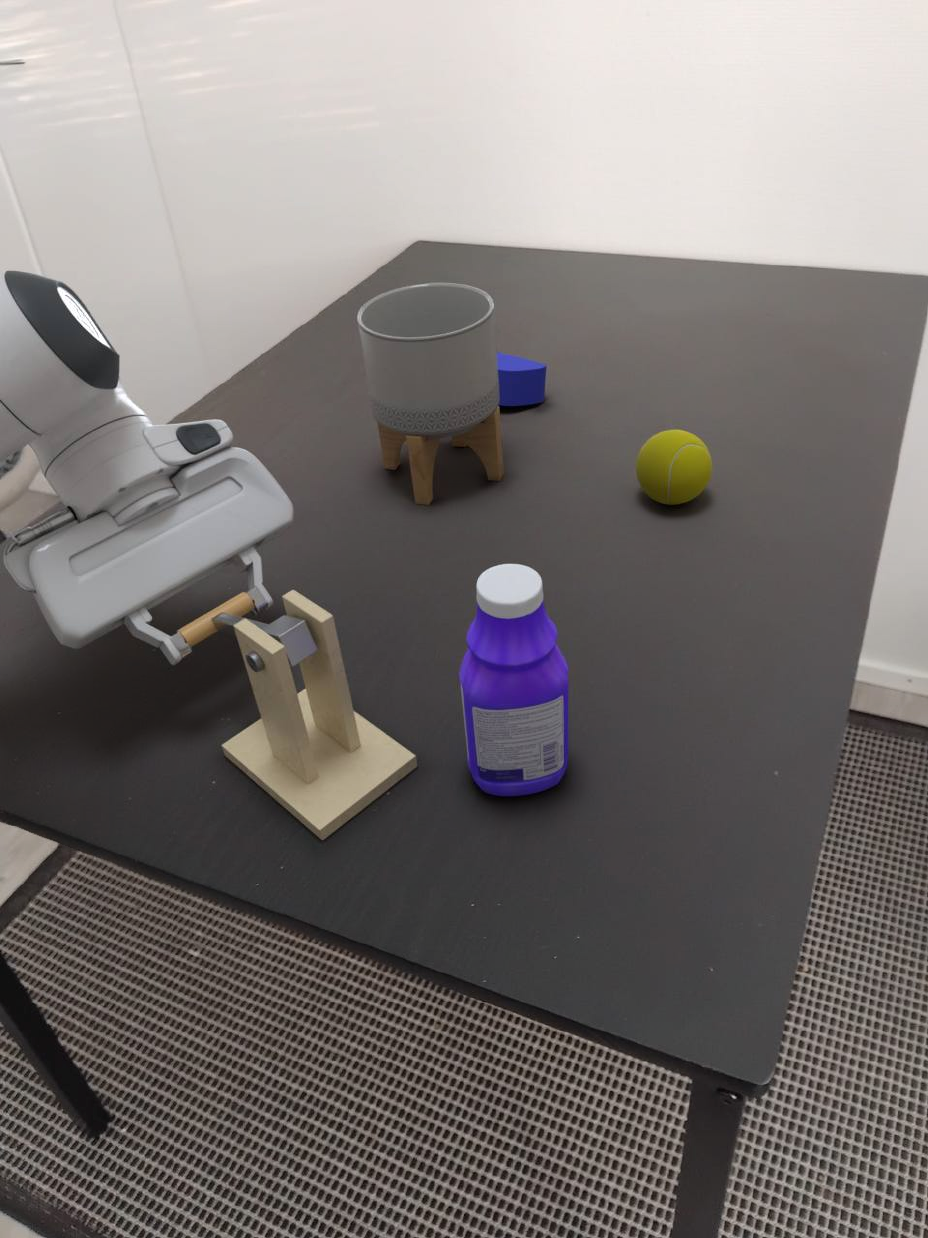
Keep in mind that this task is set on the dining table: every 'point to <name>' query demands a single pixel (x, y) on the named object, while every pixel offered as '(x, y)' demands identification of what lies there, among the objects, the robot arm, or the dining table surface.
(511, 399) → the toy
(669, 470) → the tennis ball
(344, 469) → the dining table surface
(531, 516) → the dining table surface
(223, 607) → the lever
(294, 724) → the bracket
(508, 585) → the bottle
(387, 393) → the planter
